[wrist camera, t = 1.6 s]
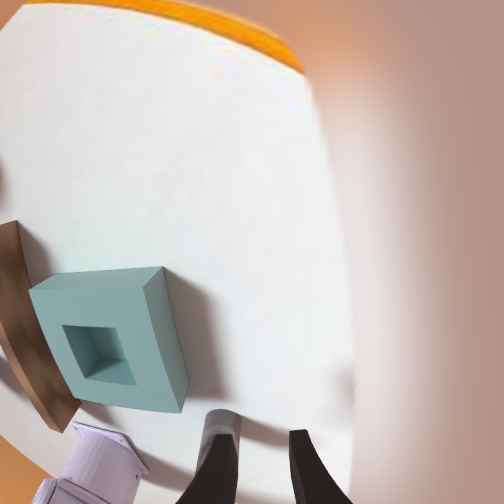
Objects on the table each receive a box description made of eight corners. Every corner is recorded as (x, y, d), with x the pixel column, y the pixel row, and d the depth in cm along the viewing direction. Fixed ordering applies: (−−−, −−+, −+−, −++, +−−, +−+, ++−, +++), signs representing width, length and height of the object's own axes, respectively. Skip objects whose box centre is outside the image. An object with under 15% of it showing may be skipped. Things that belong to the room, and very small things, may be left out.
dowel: (242, 429, 22) (239, 490, 15) (209, 429, 22) (199, 488, 15) (238, 409, 21) (234, 474, 14) (202, 409, 21) (189, 471, 14)
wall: (81, 403, 22) (62, 433, 17) (68, 400, 22) (49, 428, 17) (16, 220, 17) (-24, 232, 12) (5, 223, 17) (-33, 235, 12)
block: (190, 379, 21) (181, 413, 17) (93, 371, 21) (74, 397, 17) (164, 264, 18) (142, 286, 14) (58, 272, 18) (28, 290, 14)
